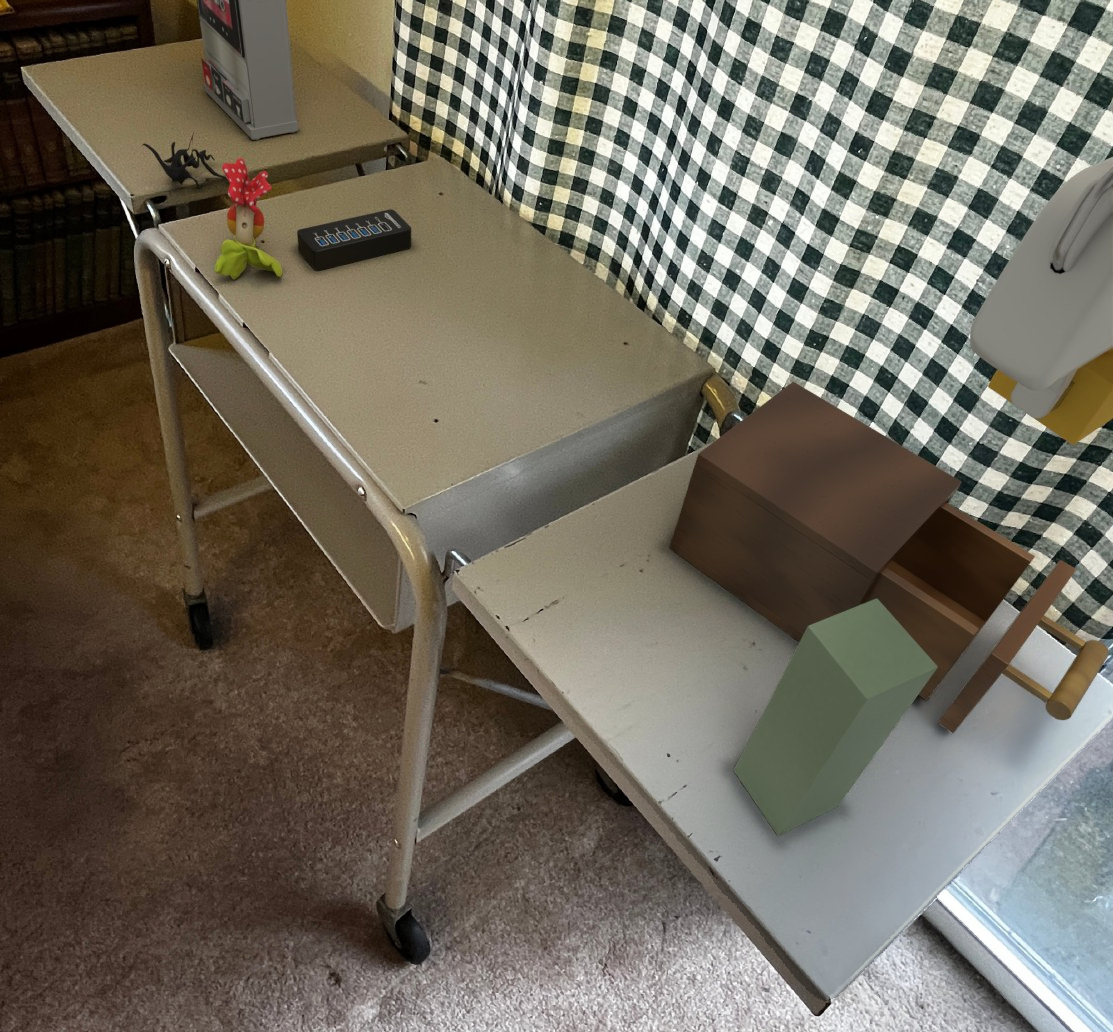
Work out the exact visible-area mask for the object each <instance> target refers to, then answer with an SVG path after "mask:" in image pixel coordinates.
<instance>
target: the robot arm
mask: <svg viewBox="0 0 1113 1032" xmlns="http://www.w3.org/2000/svg"><path fill="white" fill-rule="evenodd" d="M1110 109H1111V113H1112V114H1113V97H1112V98H1111V102H1110ZM969 345H970V349H971V350H972V352H973V353H974V354H976V355H977V356H978V357H979V358H981V360H983V361H985V362H986V363H987V364H989V365H990V366H992V367H993V368H995V369H996V370H997V369H998V370H999V371H1000V372H1002V373H1004V374H1005V375H1007V376H1008V377H1010V378H1011V379H1013V380H1015V381H1016V382H1018V383H1017V384H1016V386H1015V388H1014V389H1013V391H1012V393H1011V401H1012V403H1013V404H1012V403H1011V404H1012V405H1013V406H1015V407H1016V408H1018V409H1019V410H1020V411H1022V412H1023V413H1025V414H1026V415H1027V416H1029V417H1030V418H1032V419H1034V418H1035V419H1040V418H1042V417H1044V416H1045V415H1047V414H1049V413H1050V412H1052V411H1053V410H1055V409H1056V408H1058V407H1059V406H1060V405H1061V403H1062V402H1063V400H1064V398H1065V397H1066V396H1067V394H1068V393H1069V391H1070V390H1071V388H1072V387H1073V385H1074V384H1075V382H1073V381H1072V379H1073V377H1074V375H1075V373H1076V371H1077V369H1079V368H1080V367H1082V366H1083V365H1085V364H1087V363H1088V362H1090V361H1092V360H1093V359H1095V358H1097V357H1098V356H1100V355H1101V354H1103V353H1105V352H1106V351H1108V350H1110V349H1111V348H1113V156H1112V157H1110V158H1106V159H1104V160H1102V161H1100V162H1097V163H1094V164H1093V165H1089V166H1088V167H1085V168H1084V169H1082V170H1080V171H1078V172H1076V173H1075V174H1074V175H1073V176H1071V177H1070V178H1069V179H1068V180H1067V181H1065V182H1064V183H1063V184H1062V185H1061V186H1060V187H1059V188H1058V190H1056V192H1055V193H1054V194H1053V195H1052V197H1051V198H1050V199H1049V200H1048V201H1047V202H1046V203H1045V205H1044V207H1043V208H1042V210H1041V211H1040V212H1039V214H1037V217H1036V218H1035V219H1034V220H1033V222H1032V224H1031V225H1030V226H1029V228H1028V230H1027V231H1026V233H1025V234H1024V235H1023V237H1022V239H1021V241H1020V243H1019V244H1018V246H1017V247H1016V249H1015V251H1014V252H1013V254H1012V255H1011V257H1010V259H1009V260H1008V262H1007V263H1006V265H1005V266H1004V268H1003V269H1002V271H1001V273H1000V275H999V276H998V278H997V279H996V281H995V283H994V284H993V287H992V288H991V290H990V291H989V293H988V295H987V297H986V298H985V300H984V302H983V303H982V305H981V306H980V308H979V310H978V312H977V313H976V315H975V317H974V319H973V321H972V324H971V327H970V332H969ZM1035 419H1034V420H1035Z"/></svg>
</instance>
